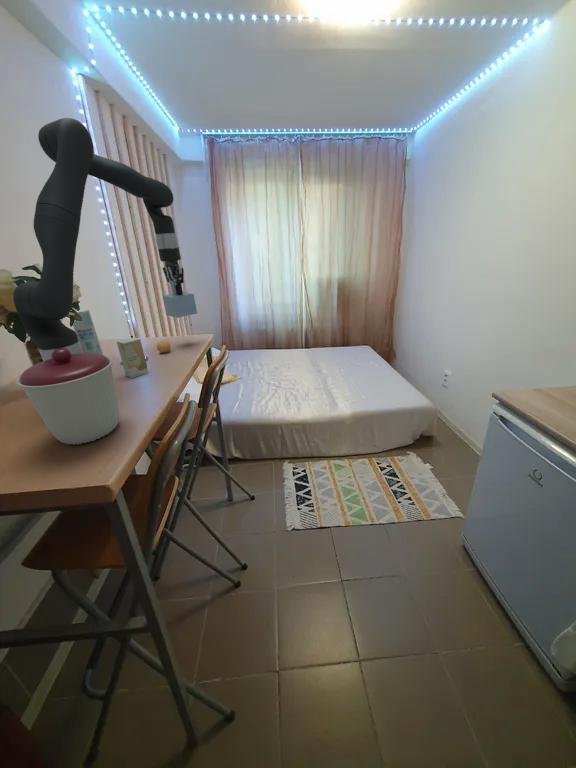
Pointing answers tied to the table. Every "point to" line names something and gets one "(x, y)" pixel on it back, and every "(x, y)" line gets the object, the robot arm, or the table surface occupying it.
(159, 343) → the ball
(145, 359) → the rest mark
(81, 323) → the tall pale blue carton
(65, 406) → the canister
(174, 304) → the blue stepped block
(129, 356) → the skincare box
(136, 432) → the table surface
